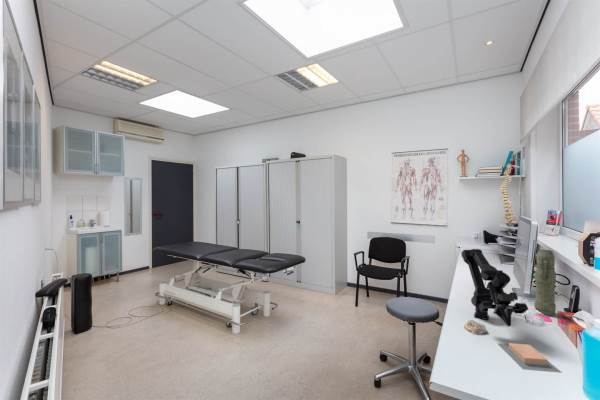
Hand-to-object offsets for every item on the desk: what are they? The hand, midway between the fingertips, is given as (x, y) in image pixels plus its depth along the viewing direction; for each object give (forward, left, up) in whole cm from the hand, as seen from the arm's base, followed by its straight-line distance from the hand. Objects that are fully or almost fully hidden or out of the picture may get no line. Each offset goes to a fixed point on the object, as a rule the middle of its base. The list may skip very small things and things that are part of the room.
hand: (509, 326), depth 129 cm
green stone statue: (-50, +18, -8) cm, 53 cm away
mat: (+11, +5, -7) cm, 14 cm away
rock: (-4, -13, -8) cm, 16 cm away
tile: (+7, +3, -6) cm, 9 cm away
